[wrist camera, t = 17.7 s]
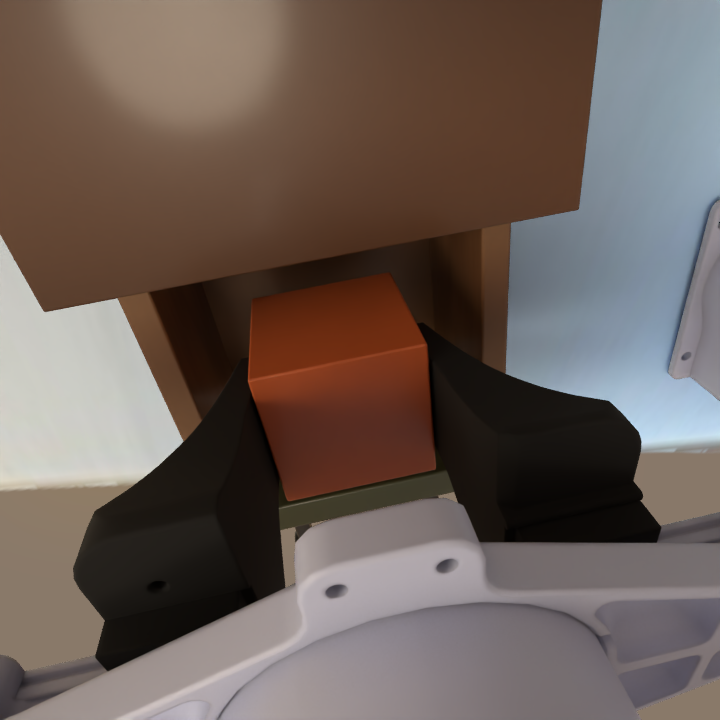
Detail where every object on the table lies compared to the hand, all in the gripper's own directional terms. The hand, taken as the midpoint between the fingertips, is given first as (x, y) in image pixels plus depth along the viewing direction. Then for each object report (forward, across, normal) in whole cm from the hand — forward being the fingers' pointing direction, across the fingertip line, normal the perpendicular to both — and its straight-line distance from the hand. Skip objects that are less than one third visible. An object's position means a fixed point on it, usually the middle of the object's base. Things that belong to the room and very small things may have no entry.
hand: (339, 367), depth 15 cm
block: (+1, 0, 0) cm, 1 cm away
